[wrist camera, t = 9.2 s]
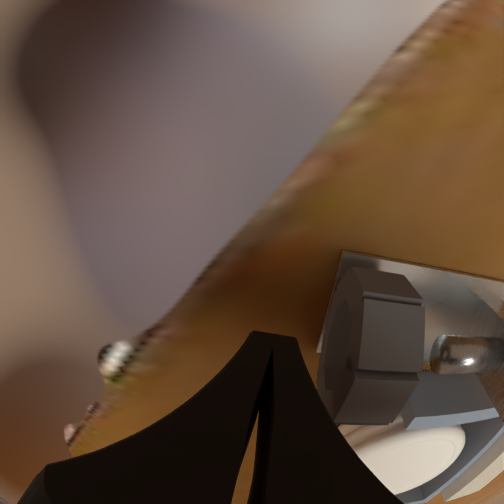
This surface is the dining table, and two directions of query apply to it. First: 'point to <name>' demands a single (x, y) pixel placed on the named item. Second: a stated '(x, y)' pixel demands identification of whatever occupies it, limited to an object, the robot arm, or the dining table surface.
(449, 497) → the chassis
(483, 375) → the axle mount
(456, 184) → the dining table surface
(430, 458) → the cream round disc
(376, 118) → the dining table surface
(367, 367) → the wheel
